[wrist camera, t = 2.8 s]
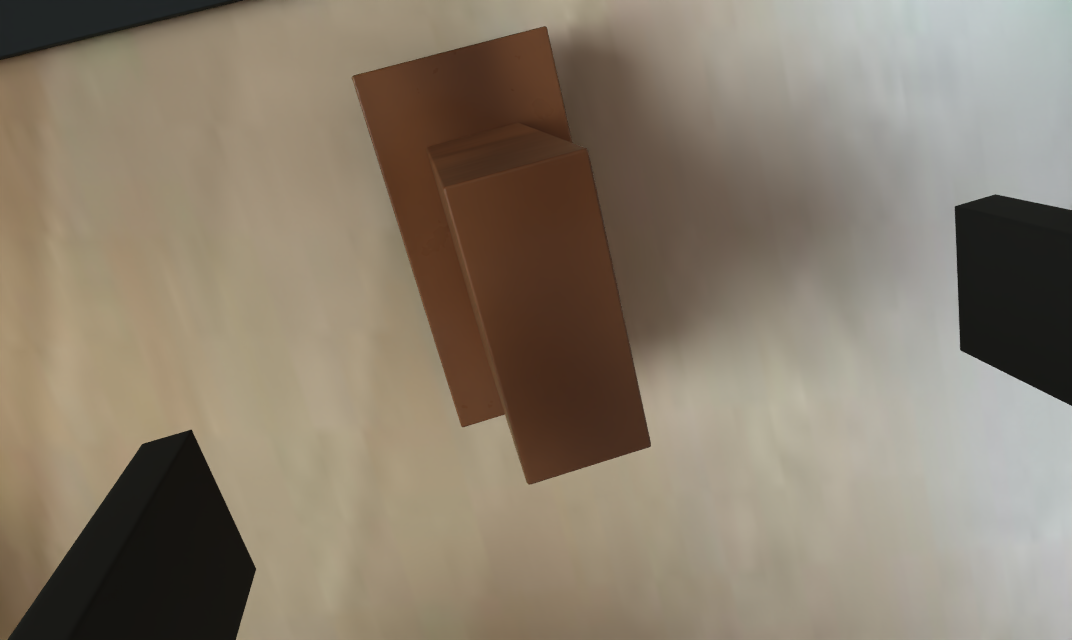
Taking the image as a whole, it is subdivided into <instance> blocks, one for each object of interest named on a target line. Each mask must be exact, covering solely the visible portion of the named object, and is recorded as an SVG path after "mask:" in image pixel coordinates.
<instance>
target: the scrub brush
mask: <svg viewBox="0 0 1072 640" xmlns="http://www.w3.org/2000/svg"><path fill="white" fill-rule="evenodd" d="M352 80H353V83H354V86H355V89H356V92H357V95H358V99H359V102H360V105H361V108H362V111H363V115H364V118H365V121H366V124H367V127H368V130H369V134H370V137H371V140H372V143H373V146H374V150H375V153H376V156H377V159H378V162H379V165H380V169H381V172H382V175H383V178H384V181H385V185H386V188H387V191H388V194H389V197H390V200H391V204H392V207H393V210H394V213H395V216H396V220H397V223H398V226H399V229H400V232H401V236H402V239H403V242H404V245H405V248H406V251H407V255H408V258H409V261H410V264H411V267H412V271H413V274H414V277H415V280H416V283H417V286H418V290H419V293H420V296H421V299H422V302H423V306H424V309H425V312H426V315H427V318H428V321H429V325H430V328H431V331H432V334H433V337H434V341H435V344H436V347H437V350H438V353H439V356H440V360H441V363H442V366H443V369H444V372H445V376H446V379H447V382H448V385H449V388H450V391H451V395H452V398H453V401H454V404H455V407H456V411H457V414H458V417H459V420H460V423H461V426H462V427H465V426H468V425H472V424H475V423H478V422H482V421H485V420H488V419H491V418H495V417H498V416H501V415H505V416H506V419H507V422H508V425H509V429H510V432H511V435H512V438H513V441H514V444H515V447H516V450H517V453H518V457H519V460H520V463H521V466H522V469H523V472H524V475H525V478H526V481H527V483H528V484H533V483H537V482H540V481H543V480H546V479H549V478H552V477H556V476H559V475H562V474H565V473H568V472H572V471H575V470H578V469H581V468H584V467H587V466H591V465H594V464H597V463H600V462H603V461H607V460H610V459H613V458H616V457H619V456H622V455H626V454H629V453H632V452H635V451H638V450H642V449H645V448H648V447H650V446H651V442H650V437H649V432H648V428H647V423H646V418H645V414H644V409H643V404H642V400H641V395H640V390H639V386H638V381H637V376H636V372H635V367H634V362H633V358H632V353H631V348H630V344H629V339H628V334H627V330H626V325H625V320H624V316H623V311H622V306H621V302H620V297H619V292H618V287H617V283H616V278H615V273H614V269H613V264H612V259H611V255H610V250H609V245H608V241H607V236H606V231H605V227H604V222H603V217H602V213H601V208H600V203H599V199H598V194H597V189H596V185H595V180H594V175H593V171H592V166H591V161H590V157H589V152H588V149H587V148H584V147H582V146H579V145H576V144H574V143H572V139H571V135H570V130H569V125H568V121H567V116H566V112H565V107H564V103H563V98H562V94H561V89H560V85H559V80H558V76H557V71H556V67H555V62H554V57H553V53H552V48H551V44H550V39H549V35H548V30H547V27H545V26H544V27H540V28H536V29H532V30H529V31H525V32H521V33H517V34H513V35H509V36H505V37H501V38H497V39H494V40H490V41H486V42H482V43H478V44H474V45H470V46H466V47H462V48H459V49H455V50H451V51H447V52H443V53H439V54H435V55H431V56H428V57H424V58H420V59H416V60H412V61H408V62H404V63H400V64H396V65H393V66H389V67H385V68H381V69H377V70H373V71H369V72H365V73H362V74H358V75H354V76H352Z"/></svg>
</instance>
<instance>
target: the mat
mask: <svg viewBox="0 0 1072 640" xmlns="http://www.w3.org/2000/svg"><path fill="white" fill-rule="evenodd" d="M239 1H243V0H0V60H2V59H6V58H10V57H14V56H18V55H22V54H26V53H30V52H34V51H39V50H43V49H47V48H51V47H55V46H59V45H63V44H67V43H71V42H75V41H79V40H83V39H88V38H92V37H96V36H100V35H104V34H108V33H112V32H116V31H120V30H124V29H128V28H132V27H137V26H141V25H145V24H149V23H153V22H157V21H161V20H165V19H169V18H173V17H177V16H181V15H185V14H190V13H194V12H198V11H202V10H206V9H210V8H214V7H218V6H222V5H226V4H230V3H234V2H239Z"/></svg>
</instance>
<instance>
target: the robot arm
mask: <svg viewBox="0 0 1072 640" xmlns="http://www.w3.org/2000/svg"><path fill="white" fill-rule="evenodd" d="M955 223H956V248H957V274H958V300H959V326H960V350H961V351H963V352H965V353H967V354H969V355H971V356H973V357H975V358H977V359H979V360H981V361H983V362H985V363H987V364H989V365H991V366H993V367H995V368H997V369H999V370H1001V371H1003V372H1005V373H1007V374H1009V375H1011V376H1013V377H1015V378H1017V379H1019V380H1021V381H1023V382H1025V383H1027V384H1029V385H1031V386H1033V387H1035V388H1037V389H1039V390H1041V391H1043V392H1045V393H1047V394H1049V395H1051V396H1053V397H1055V398H1057V399H1059V400H1061V401H1063V402H1065V403H1067V404H1069V405H1071V406H1072V210H1068V209H1063V208H1058V207H1053V206H1048V205H1044V204H1039V203H1034V202H1029V201H1024V200H1020V199H1015V198H1010V197H1005V196H1000V195H992V196H989V197H985V198H982V199H978V200H975V201H971V202H968V203H965V204H961V205H958V206H955ZM255 571H256V568H255V566H254V563H253V561H252V559H251V557H250V555H249V553H248V550H247V548H246V546H245V544H244V542H243V540H242V538H241V535H240V533H239V531H238V529H237V527H236V525H235V522H234V520H233V518H232V516H231V514H230V512H229V509H228V507H227V505H226V503H225V501H224V499H223V497H222V494H221V492H220V490H219V488H218V486H217V484H216V481H215V479H214V477H213V475H212V473H211V471H210V469H209V466H208V464H207V462H206V460H205V458H204V456H203V453H202V451H201V449H200V447H199V445H198V443H197V440H196V438H195V436H194V434H193V432H192V430H189V431H185V432H182V433H178V434H175V435H172V436H168V437H165V438H161V439H158V440H154V441H151V442H148V443H144V444H142V445H141V447H140V448H139V450H138V451H137V453H136V454H135V456H134V457H133V459H132V460H131V461H130V463H129V464H128V466H127V467H126V469H125V470H124V472H123V473H122V474H121V476H120V477H119V479H118V480H117V482H116V483H115V485H114V486H113V488H112V489H111V490H110V492H109V493H108V495H107V496H106V498H105V499H104V501H103V502H102V503H101V505H100V506H99V508H98V509H97V511H96V512H95V514H94V515H93V517H92V518H91V519H90V521H89V522H88V524H87V525H86V527H85V528H84V530H83V531H82V532H81V534H80V535H79V537H78V538H77V540H76V541H75V543H74V544H73V546H72V547H71V548H70V550H69V551H68V553H67V554H66V556H65V557H64V559H63V560H62V561H61V563H60V564H59V566H58V567H57V569H56V570H55V572H54V573H53V575H52V576H51V577H50V579H49V580H48V582H47V583H46V585H45V586H44V588H43V589H42V590H41V592H40V593H39V595H38V596H37V598H36V599H35V601H34V602H33V604H32V605H31V606H30V608H29V609H28V611H27V612H26V614H25V615H24V617H23V618H22V619H21V621H20V622H19V624H18V625H17V627H16V628H15V630H14V631H13V633H12V634H11V635H10V637H9V638H8V640H236V637H237V633H238V630H239V626H240V623H241V619H242V616H243V612H244V609H245V605H246V602H247V598H248V595H249V592H250V588H251V585H252V581H253V578H254V574H255Z"/></svg>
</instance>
